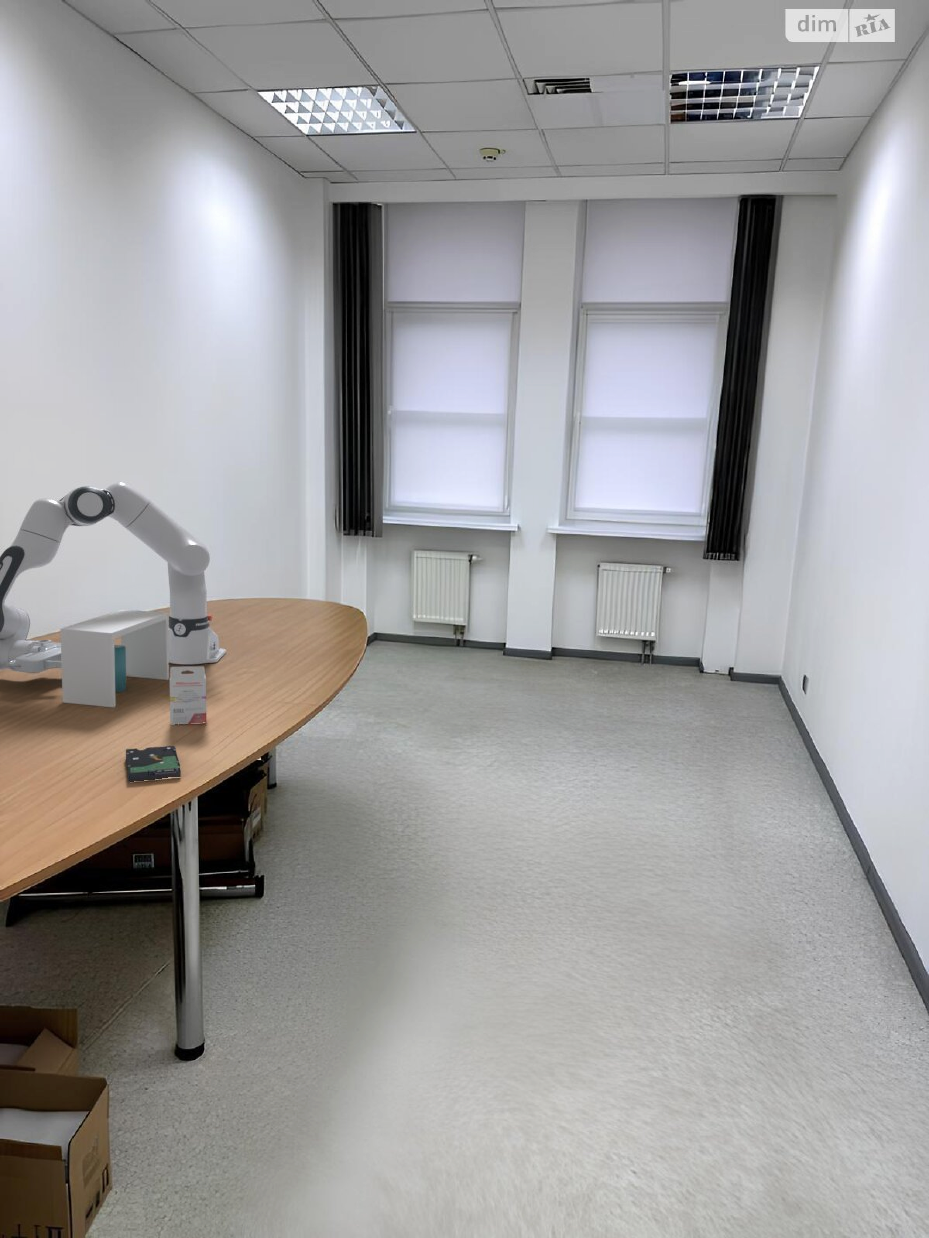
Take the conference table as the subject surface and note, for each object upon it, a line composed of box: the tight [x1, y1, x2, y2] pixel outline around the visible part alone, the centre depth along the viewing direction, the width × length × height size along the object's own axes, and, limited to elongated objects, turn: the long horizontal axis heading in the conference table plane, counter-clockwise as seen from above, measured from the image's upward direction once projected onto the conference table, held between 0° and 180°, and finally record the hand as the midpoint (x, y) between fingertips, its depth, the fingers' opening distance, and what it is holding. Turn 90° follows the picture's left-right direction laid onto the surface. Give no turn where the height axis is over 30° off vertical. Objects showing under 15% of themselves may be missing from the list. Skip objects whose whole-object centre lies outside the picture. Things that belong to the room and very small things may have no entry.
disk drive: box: [125, 745, 182, 783], centre depth 181 cm, size 10×3×15 cm
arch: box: [60, 608, 170, 708], centre depth 234 cm, size 30×14×20 cm, turn 172°
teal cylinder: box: [114, 644, 127, 693], centre depth 235 cm, size 6×6×12 cm
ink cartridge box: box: [169, 665, 207, 726], centre depth 211 cm, size 9×5×15 cm, turn 105°
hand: (74, 661), depth 236 cm, fingers open, 8 cm apart
